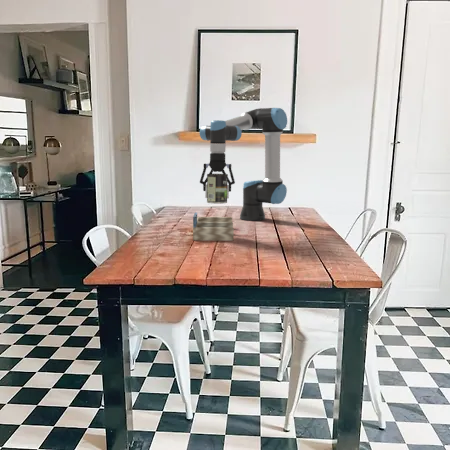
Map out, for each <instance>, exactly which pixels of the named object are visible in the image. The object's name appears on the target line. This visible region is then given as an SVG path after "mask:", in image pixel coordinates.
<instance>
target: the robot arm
mask: <svg viewBox="0 0 450 450" xmlns="http://www.w3.org/2000/svg"><path fill="white" fill-rule="evenodd" d="M287 125H288V116H287V113H286V112H285V110H284V109H283V108H282V107H281V108H280V107H265V108H264V107H263V108H261V107H259V108H255V109H252V110H249V111H246V112H243V113H241V114H240V115H239V116H237V117H233V118H231V119H227V120H211V121H210V125H203V126H201V127H200V129H199V136H200V139H202V140H203V141H209V152H210V153H209V162H208V163H203V169H202V173H201V176H200V180H199V184H202V187H203V188H202V190H203V192H205V193H204V194H205V197H204V198H205V199H207V177H206V178H204V177H205V174H206V171H207V169H208V168H210V171H209V173H208V174H213V172H214V173H221V174H223V175H226V174H227V173H226V171H225V168H226V167H227V169H228V171H229V176H230V178H231V180H230V179H229V176H228V177H227V199H229V196H230V195H229V192H232V185H235V183H236V181H235V178H234V174H233V170H232V163H226V149H227V148H226V146H227V145H226V142H228V141H229V142H230V141H231V142H235V141H239V140H240V139H241V137H242V134H243V133H242V131H243V130H244V131H249V130H262V131H261V132H262V134H263V135H264V178H263V179H257V180H247V181H244V183H243V185H242V187H243V188H242V191H243V192H242V193H243V194H242V209H241V211H240V213H239V219H240V220H244V221H253V222H254V221H255V222H256V221H257V222H258V221H263V220H266V214H265V211H264V208H263V203H264V204H272V205H279V204H282V203H283V202H284V200H285V199H286V197H287V191H288V189H287V185H285V184H284V183H283V179H282V178H281V135H282V134H283V132H284V129H286V127H287Z"/></svg>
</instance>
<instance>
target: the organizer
mask: <svg viewBox="0 0 450 450" xmlns="http://www.w3.org/2000/svg"><path fill="white" fill-rule="evenodd" d="M233 225H234V222H233V217H232V216H224V217H223V216H198V212H193V216H192V241H227V242H228V241H230V242H231V241H234V230H235V229H234V226H233Z"/></svg>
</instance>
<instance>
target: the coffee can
mask: <svg viewBox="0 0 450 450" xmlns="http://www.w3.org/2000/svg"><path fill="white" fill-rule="evenodd" d="M227 177H228V178H229V175H228V174H227V173H226V175H223V173H212V174H209V173H207V174H206V178H207V183H206V184H207V198H206V203H208V204H227V203H228V198H227V185H228V182H227Z"/></svg>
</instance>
